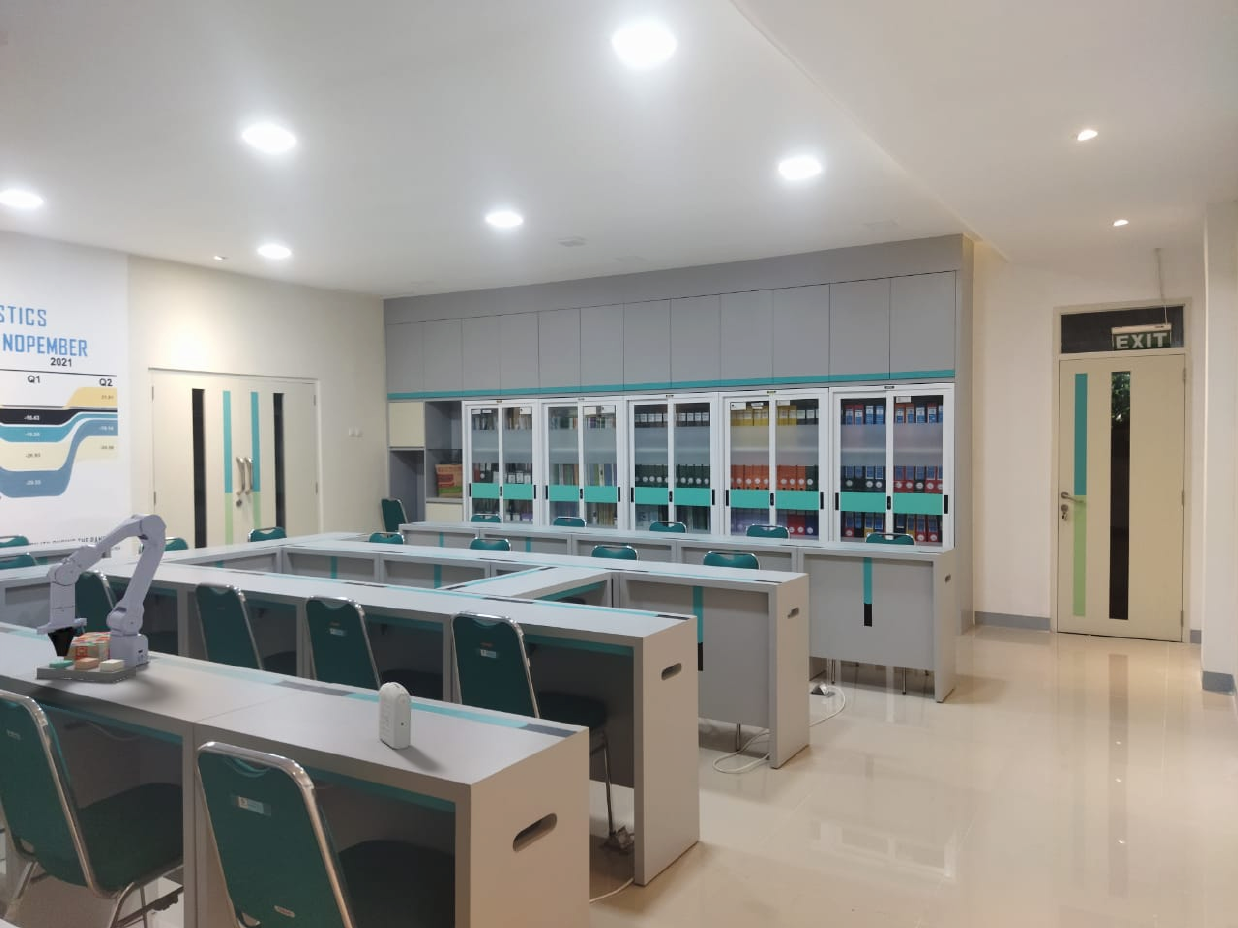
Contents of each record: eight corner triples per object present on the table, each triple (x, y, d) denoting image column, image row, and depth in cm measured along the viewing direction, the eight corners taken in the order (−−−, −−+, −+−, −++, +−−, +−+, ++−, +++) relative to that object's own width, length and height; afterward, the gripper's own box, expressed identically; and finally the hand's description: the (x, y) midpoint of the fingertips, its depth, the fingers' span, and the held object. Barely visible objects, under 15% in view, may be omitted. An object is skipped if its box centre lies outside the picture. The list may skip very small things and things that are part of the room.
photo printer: (413, 747, 175) (414, 687, 175) (393, 751, 172) (394, 690, 172) (395, 734, 183) (396, 677, 183) (376, 737, 180) (376, 679, 181)
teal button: (73, 673, 234) (74, 660, 234) (61, 676, 230) (61, 664, 230) (61, 672, 235) (61, 660, 235) (49, 676, 231) (49, 663, 231)
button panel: (135, 675, 232) (135, 666, 232) (113, 682, 225) (113, 672, 225) (61, 670, 237) (61, 661, 237) (36, 677, 229) (36, 668, 229)
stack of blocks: (62, 668, 240) (111, 665, 243) (62, 646, 240) (111, 643, 243) (87, 652, 260) (131, 650, 264) (87, 632, 260) (131, 630, 264)
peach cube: (98, 671, 232) (98, 658, 232) (87, 674, 228) (87, 661, 228) (86, 670, 233) (86, 657, 233) (74, 673, 229) (74, 660, 229)
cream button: (123, 672, 231) (124, 659, 231) (112, 676, 227) (112, 663, 227) (111, 671, 232) (111, 659, 232) (99, 675, 228) (99, 662, 228)
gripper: (71, 602, 240) (71, 649, 240) (27, 610, 226) (26, 661, 226) (93, 603, 239) (92, 650, 239) (49, 611, 225) (49, 662, 225)
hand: (62, 656), depth 232 cm, fingers closed
